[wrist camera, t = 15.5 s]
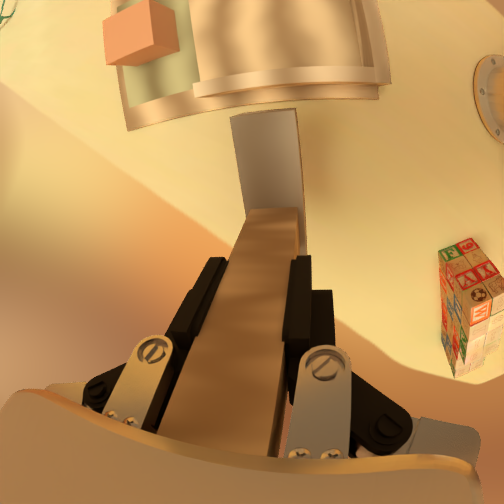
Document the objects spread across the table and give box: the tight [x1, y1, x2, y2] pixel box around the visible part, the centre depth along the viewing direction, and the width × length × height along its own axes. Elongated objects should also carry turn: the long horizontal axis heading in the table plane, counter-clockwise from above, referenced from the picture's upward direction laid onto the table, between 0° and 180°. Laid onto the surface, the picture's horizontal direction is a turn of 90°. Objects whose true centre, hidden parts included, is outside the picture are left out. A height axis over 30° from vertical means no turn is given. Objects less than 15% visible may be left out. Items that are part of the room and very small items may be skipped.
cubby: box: [111, 0, 391, 131], centre depth 19 cm, size 30×22×6 cm
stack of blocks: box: [438, 238, 504, 378], centre depth 29 cm, size 21×6×12 cm, turn 28°
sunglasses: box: [0, 0, 16, 24], centre depth 14 cm, size 14×15×5 cm
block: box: [102, 0, 180, 66], centre depth 20 cm, size 6×6×6 cm
